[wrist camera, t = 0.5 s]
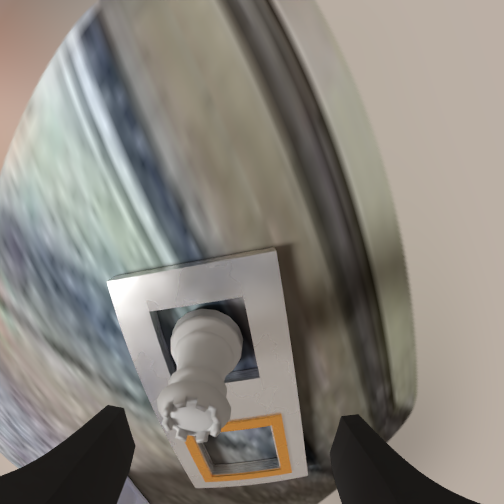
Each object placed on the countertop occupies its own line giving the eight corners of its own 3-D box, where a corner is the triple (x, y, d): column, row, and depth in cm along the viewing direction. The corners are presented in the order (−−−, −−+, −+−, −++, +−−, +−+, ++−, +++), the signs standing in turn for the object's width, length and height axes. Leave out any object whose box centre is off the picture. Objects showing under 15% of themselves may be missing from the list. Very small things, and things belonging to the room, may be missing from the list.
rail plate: (196, 478, 21) (195, 489, 20) (114, 276, 17) (105, 282, 16) (305, 466, 21) (308, 477, 20) (273, 246, 17) (276, 251, 16)
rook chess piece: (257, 333, 19) (268, 419, 11) (215, 378, 19) (205, 467, 11) (200, 291, 18) (173, 361, 10) (160, 340, 18) (121, 421, 11)
